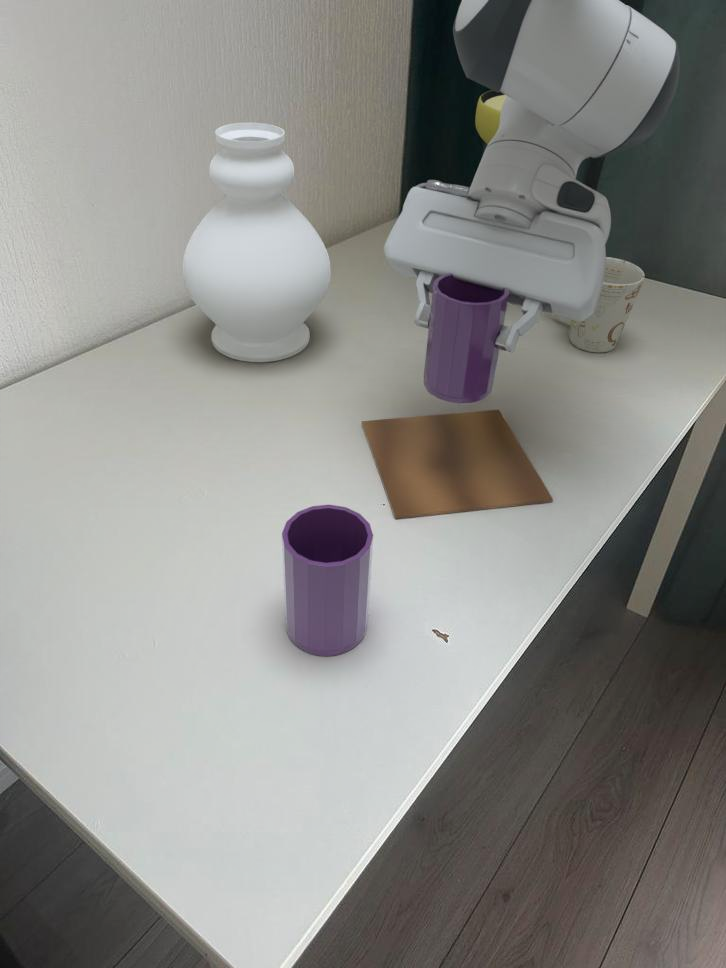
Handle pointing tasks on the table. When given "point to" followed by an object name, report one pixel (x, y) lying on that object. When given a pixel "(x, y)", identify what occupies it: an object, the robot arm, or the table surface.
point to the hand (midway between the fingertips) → (462, 337)
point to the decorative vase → (255, 251)
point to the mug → (609, 308)
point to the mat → (452, 464)
